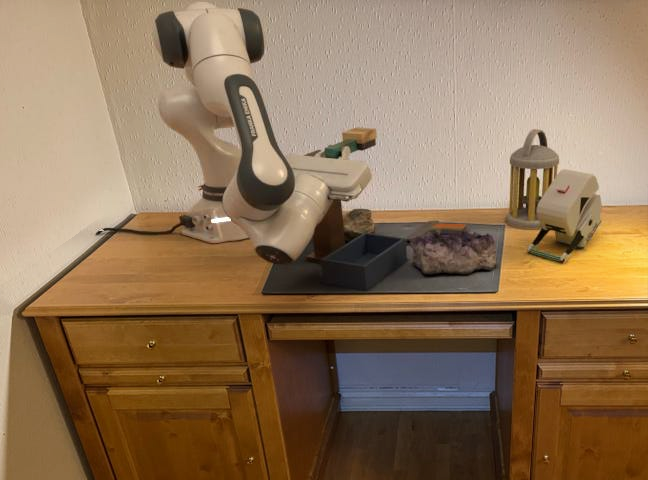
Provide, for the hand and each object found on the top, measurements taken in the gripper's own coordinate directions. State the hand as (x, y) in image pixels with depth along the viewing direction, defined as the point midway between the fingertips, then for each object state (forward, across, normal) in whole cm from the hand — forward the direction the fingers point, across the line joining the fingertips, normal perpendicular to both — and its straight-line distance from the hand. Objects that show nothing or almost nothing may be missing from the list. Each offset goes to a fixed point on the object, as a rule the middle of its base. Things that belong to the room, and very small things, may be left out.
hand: (339, 147), depth 136 cm
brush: (+2, 0, +3) cm, 4 cm away
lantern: (+34, -24, +55) cm, 69 cm away
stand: (-5, +13, +32) cm, 35 cm away
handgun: (+15, -6, +44) cm, 46 cm away
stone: (+7, +14, +39) cm, 42 cm away
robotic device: (+19, -40, +46) cm, 64 cm away
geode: (-1, -18, +35) cm, 39 cm away
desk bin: (-9, 0, +30) cm, 31 cm away
